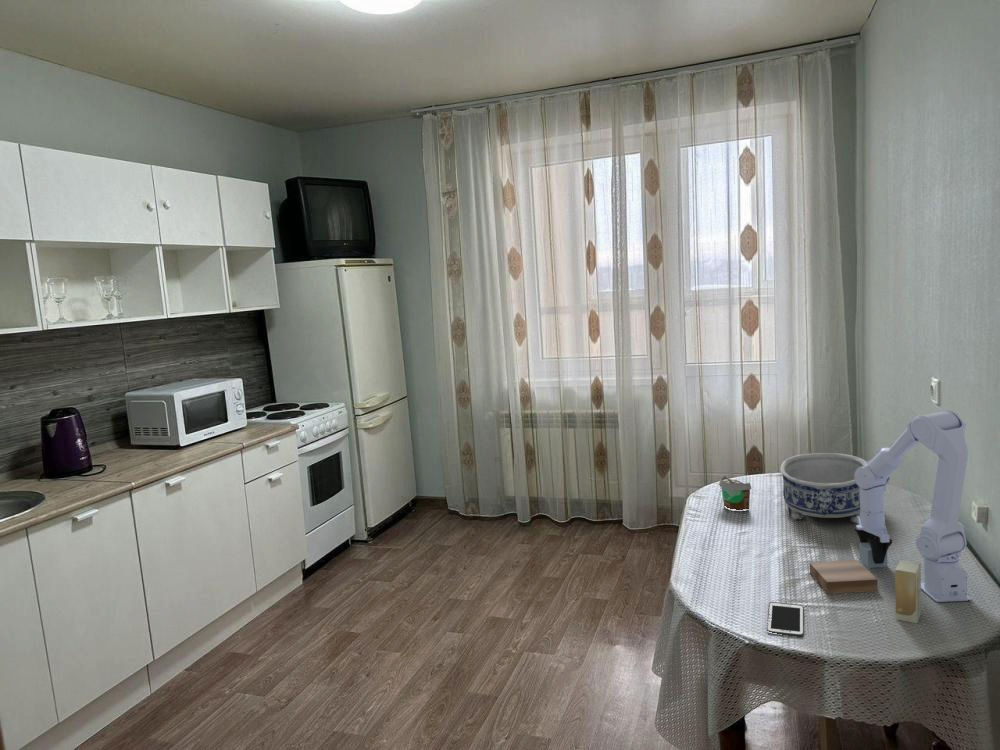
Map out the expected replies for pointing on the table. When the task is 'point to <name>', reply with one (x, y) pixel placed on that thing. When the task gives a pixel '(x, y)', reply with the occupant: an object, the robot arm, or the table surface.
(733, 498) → the food container
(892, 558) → the table surface
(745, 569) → the table surface
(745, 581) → the table surface
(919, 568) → the skincare box
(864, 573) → the walnut base
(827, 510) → the decorative bowl
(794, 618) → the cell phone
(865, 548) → the slate cube
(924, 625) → the table surface
